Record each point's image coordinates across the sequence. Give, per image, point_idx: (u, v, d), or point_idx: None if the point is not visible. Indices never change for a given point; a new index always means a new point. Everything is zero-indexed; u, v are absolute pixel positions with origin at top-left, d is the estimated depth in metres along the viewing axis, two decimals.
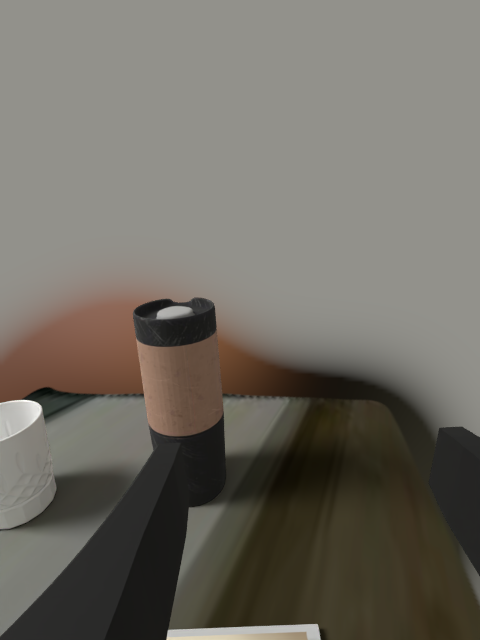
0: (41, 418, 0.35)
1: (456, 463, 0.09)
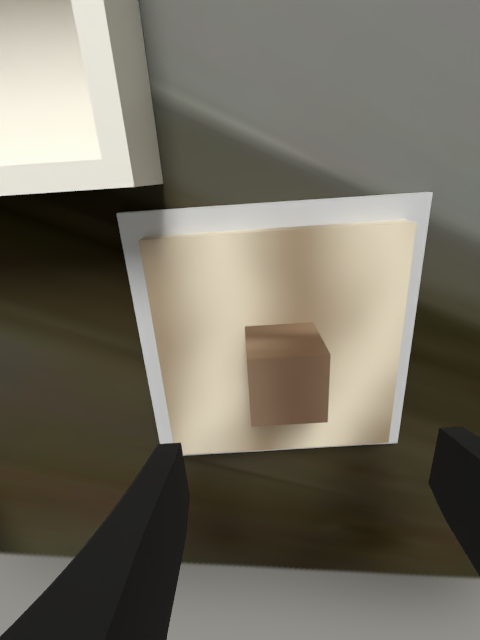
0: None
1: (456, 463, 0.09)
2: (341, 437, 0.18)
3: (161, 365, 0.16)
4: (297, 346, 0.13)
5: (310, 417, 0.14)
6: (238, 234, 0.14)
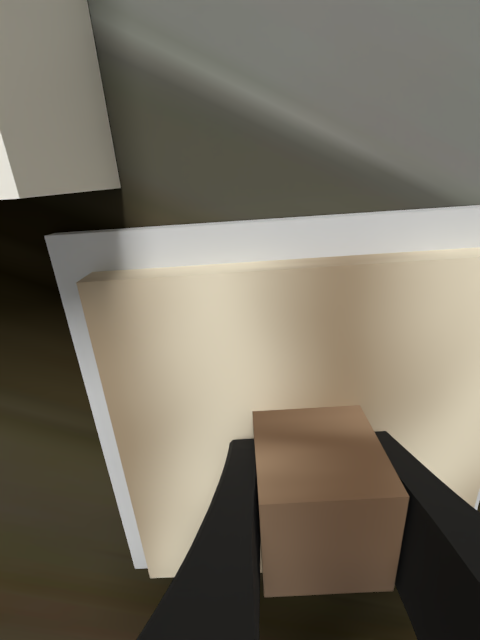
0: None
1: None
2: None
3: (124, 464, 0.10)
4: (345, 469, 0.08)
5: (365, 584, 0.08)
6: (243, 272, 0.08)
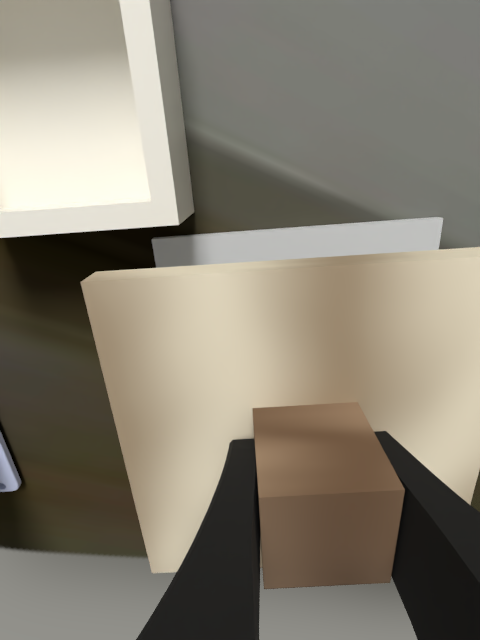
0: None
1: None
2: None
3: (127, 460, 0.11)
4: (343, 463, 0.08)
5: (362, 576, 0.08)
6: (243, 272, 0.08)
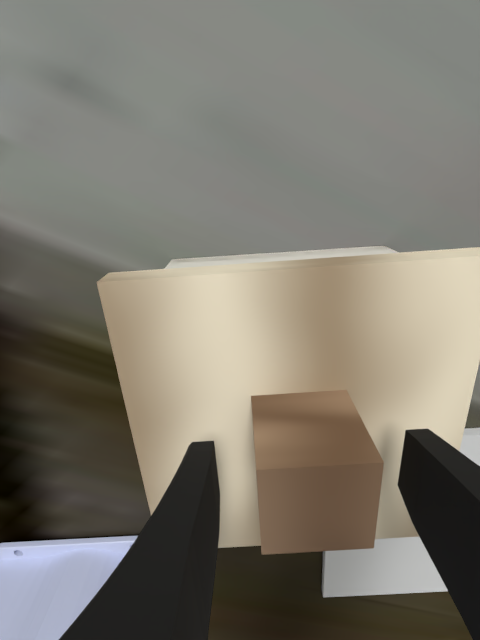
0: None
1: (420, 465, 0.09)
2: (379, 530, 0.13)
3: (136, 445, 0.12)
4: (331, 441, 0.09)
5: (349, 542, 0.09)
6: (241, 272, 0.09)
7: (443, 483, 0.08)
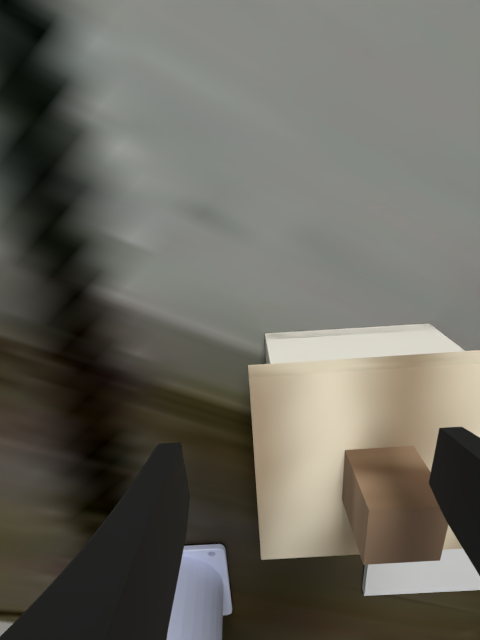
0: None
1: (456, 463, 0.09)
2: None
3: (257, 483, 0.16)
4: (413, 489, 0.13)
5: (423, 556, 0.14)
6: (348, 371, 0.14)
7: None
